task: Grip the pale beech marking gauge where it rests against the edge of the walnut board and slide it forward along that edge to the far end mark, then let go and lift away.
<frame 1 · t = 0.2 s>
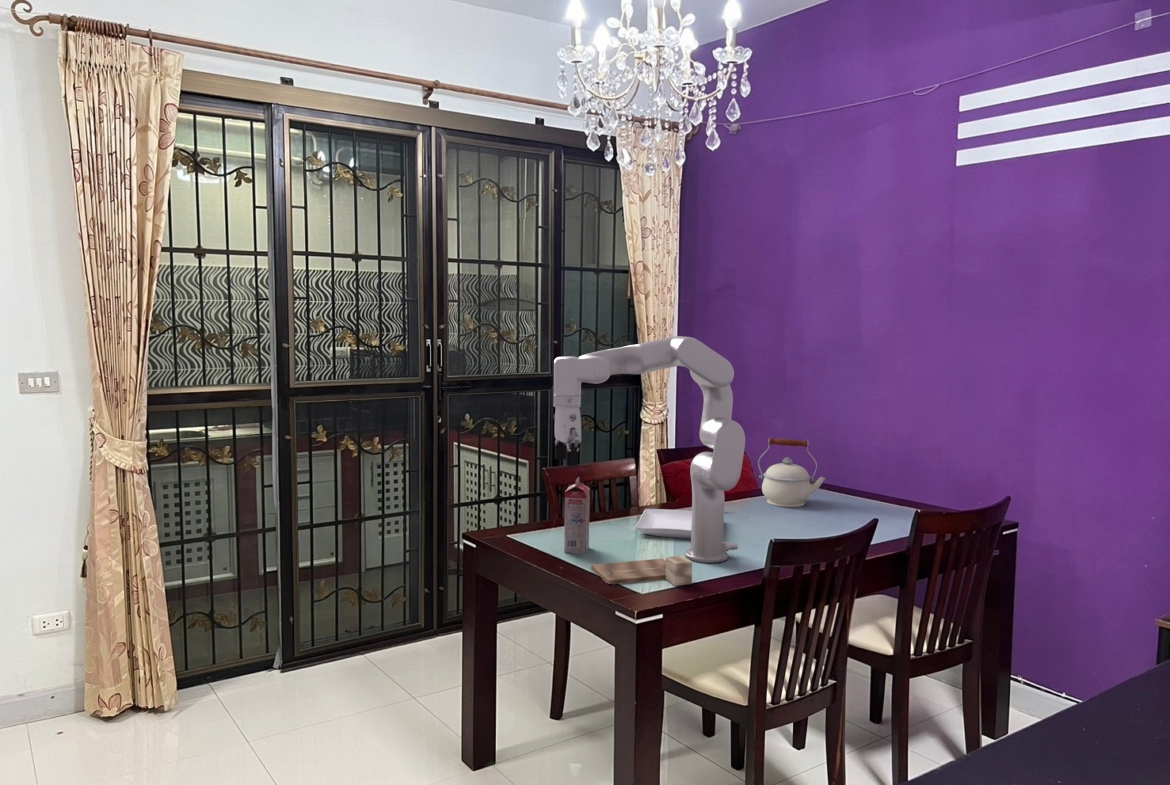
hand: (566, 462, 231), 31 cm above the table, tool pointing down, fingers open, 9 cm apart
gauge: (674, 567, 229), point 3 cm above the table, slide at 0.0 cm
kettle: (790, 504, 320), on the table
board: (636, 573, 234), on the table
square plate: (679, 530, 281), on the table
juice carton: (576, 550, 255), on the table
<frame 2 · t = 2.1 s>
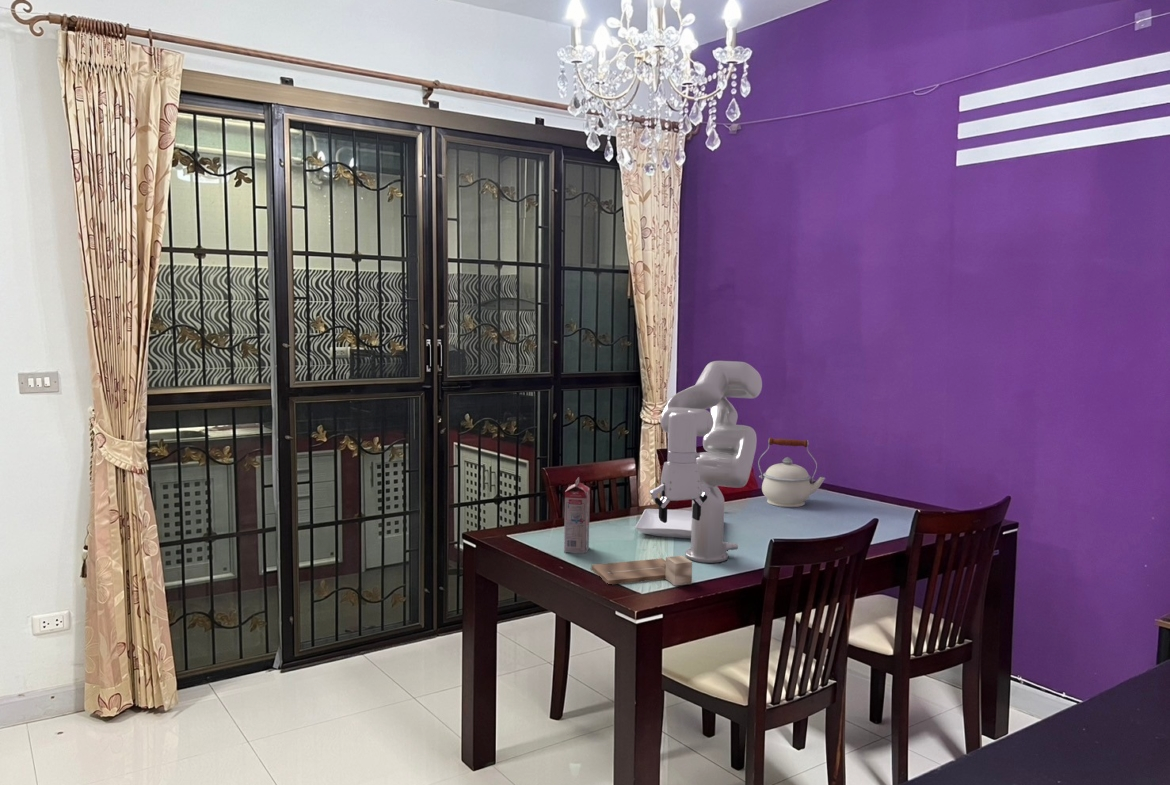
hand: (679, 520, 224), 17 cm above the table, tool pointing down, fingers open, 9 cm apart
nothing on the table moved.
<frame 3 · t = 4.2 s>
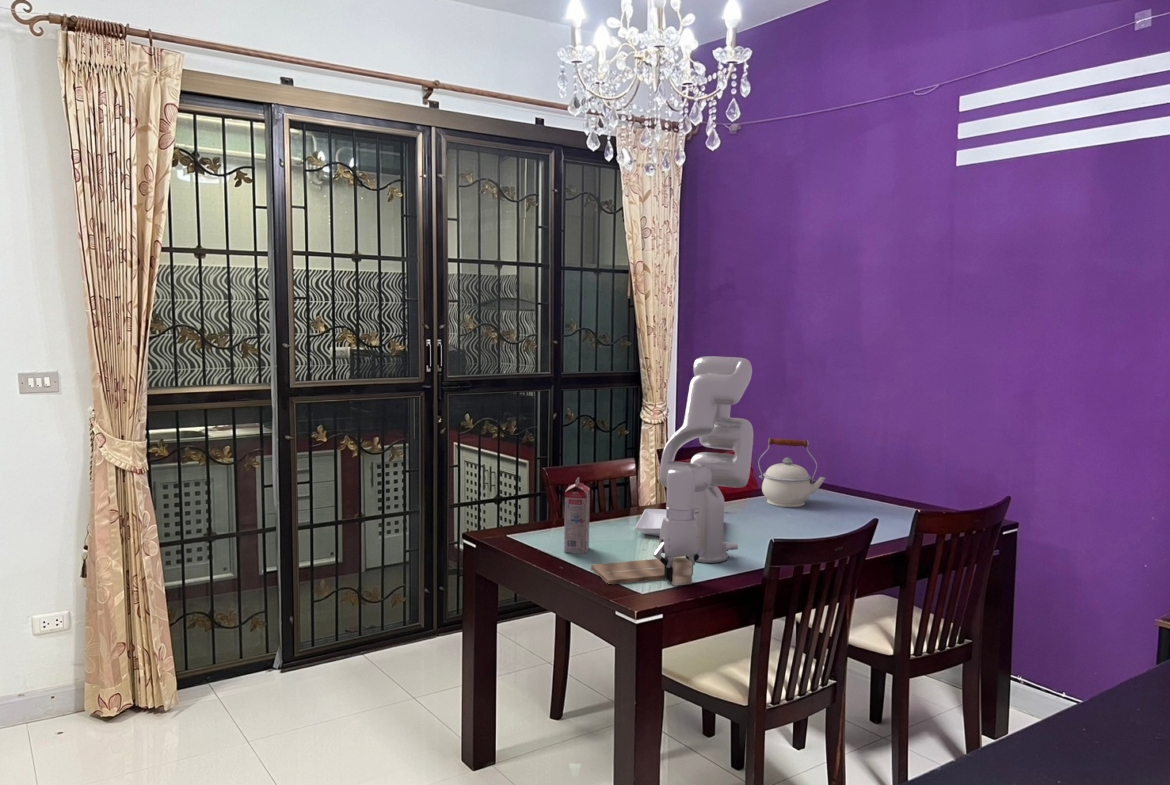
hand: (678, 578, 226), 1 cm above the table, tool pointing down, fingers closed on gauge, 5 cm apart
gauge: (673, 567, 229), point 3 cm above the table, slide at 0.0 cm, touching gripper
everything else where it was.
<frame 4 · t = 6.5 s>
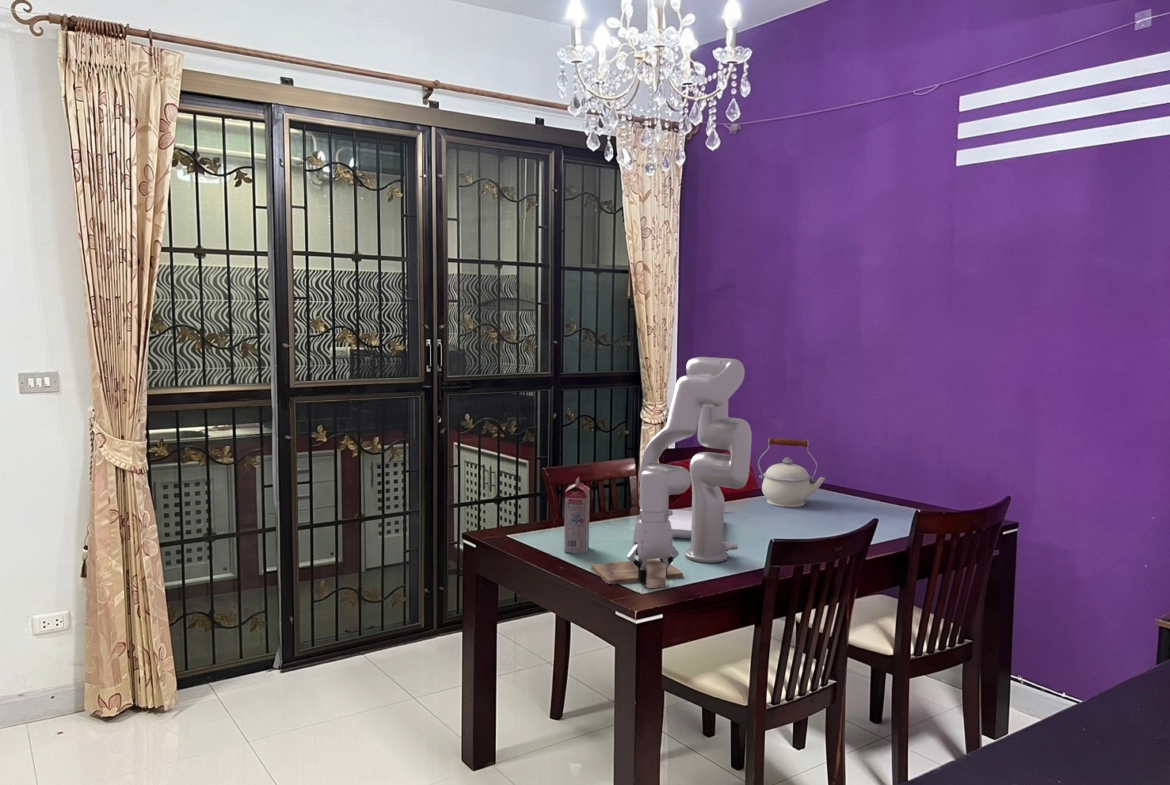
hand: (652, 581, 224), 1 cm above the table, tool pointing down, fingers closed on gauge, 5 cm apart
gauge: (648, 569, 226), point 3 cm above the table, slide at 7.7 cm, touching gripper
everything else where it was.
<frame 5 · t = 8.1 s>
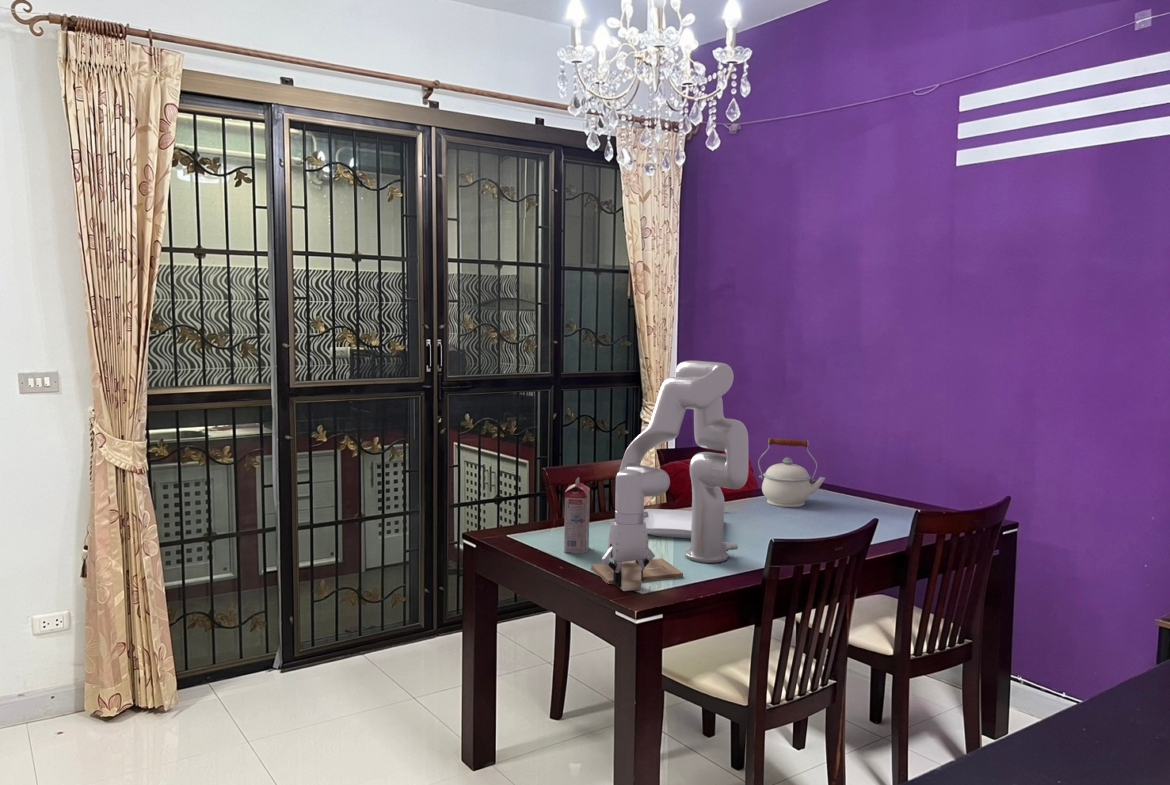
hand: (627, 584, 221), 1 cm above the table, tool pointing down, fingers closed on gauge, 5 cm apart
gauge: (623, 571, 224), point 3 cm above the table, slide at 14.8 cm, touching gripper
everything else where it was.
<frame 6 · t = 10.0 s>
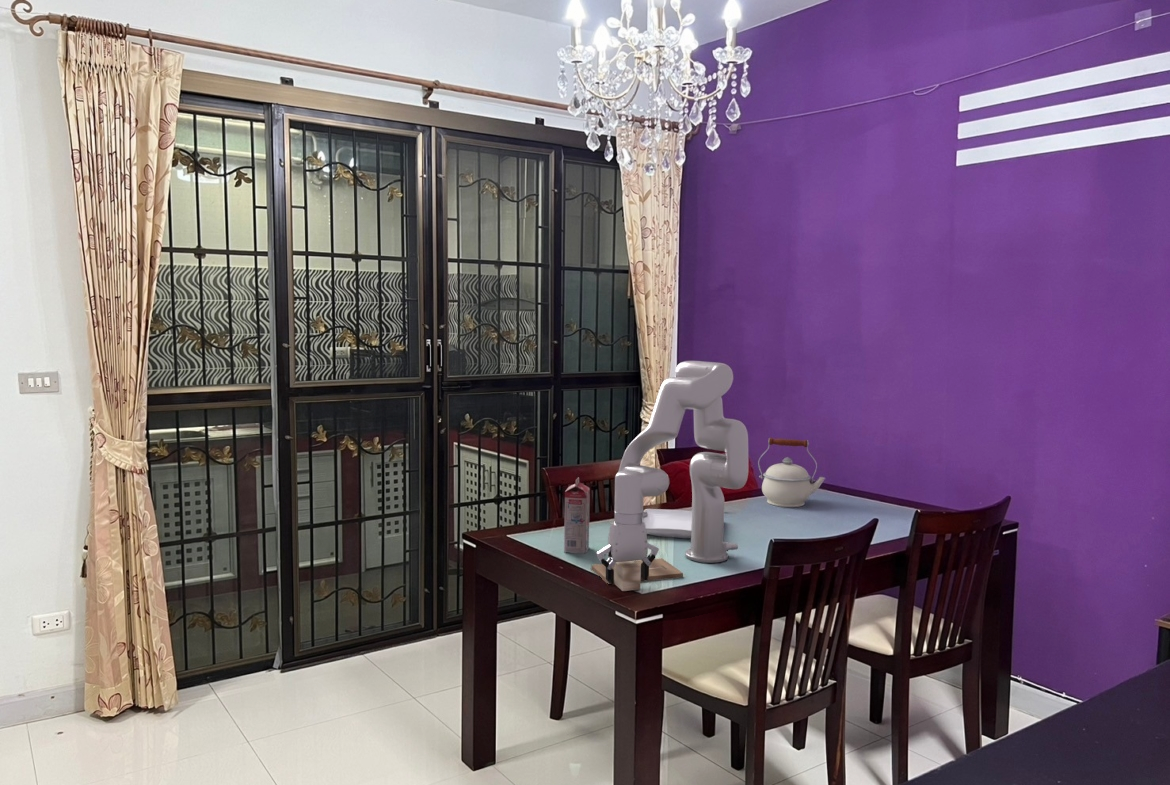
hand: (627, 580, 221), 2 cm above the table, tool pointing down, fingers open, 9 cm apart
gauge: (623, 572, 224), point 3 cm above the table, slide at 15.0 cm
everything else where it was.
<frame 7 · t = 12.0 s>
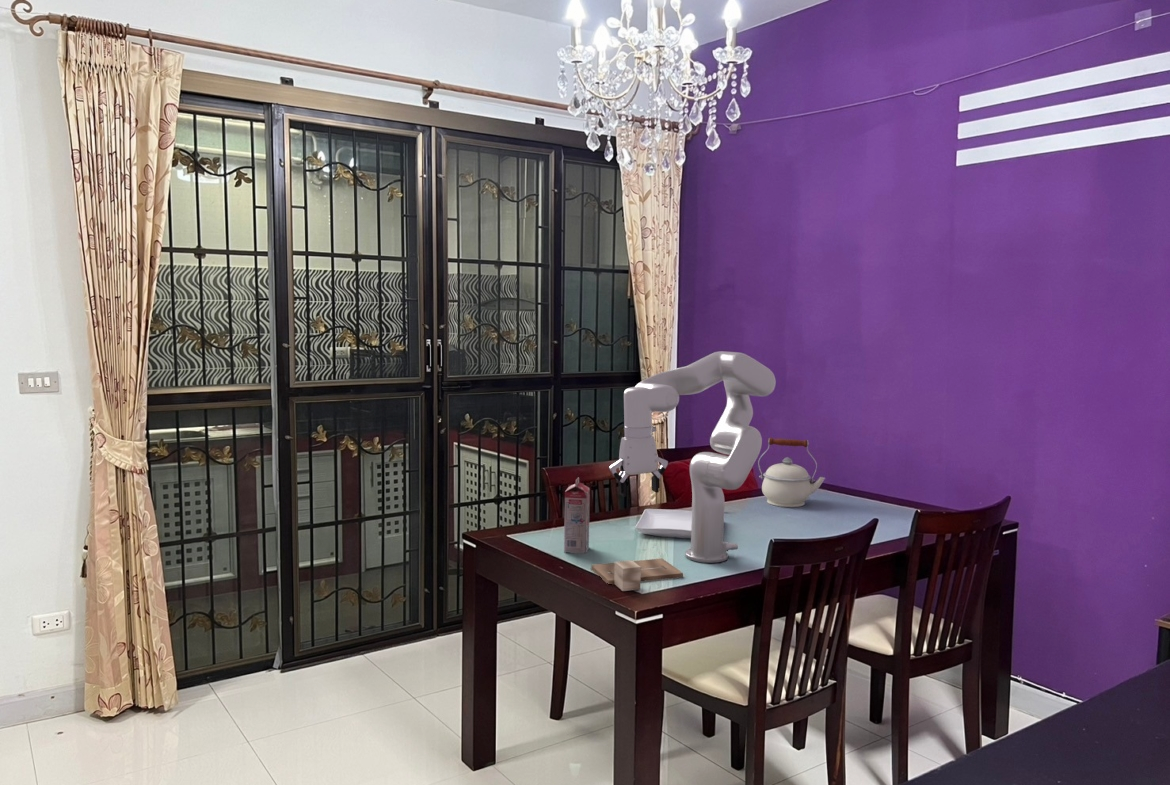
hand: (639, 493, 230), 23 cm above the table, tool pointing down, fingers open, 9 cm apart
nothing on the table moved.
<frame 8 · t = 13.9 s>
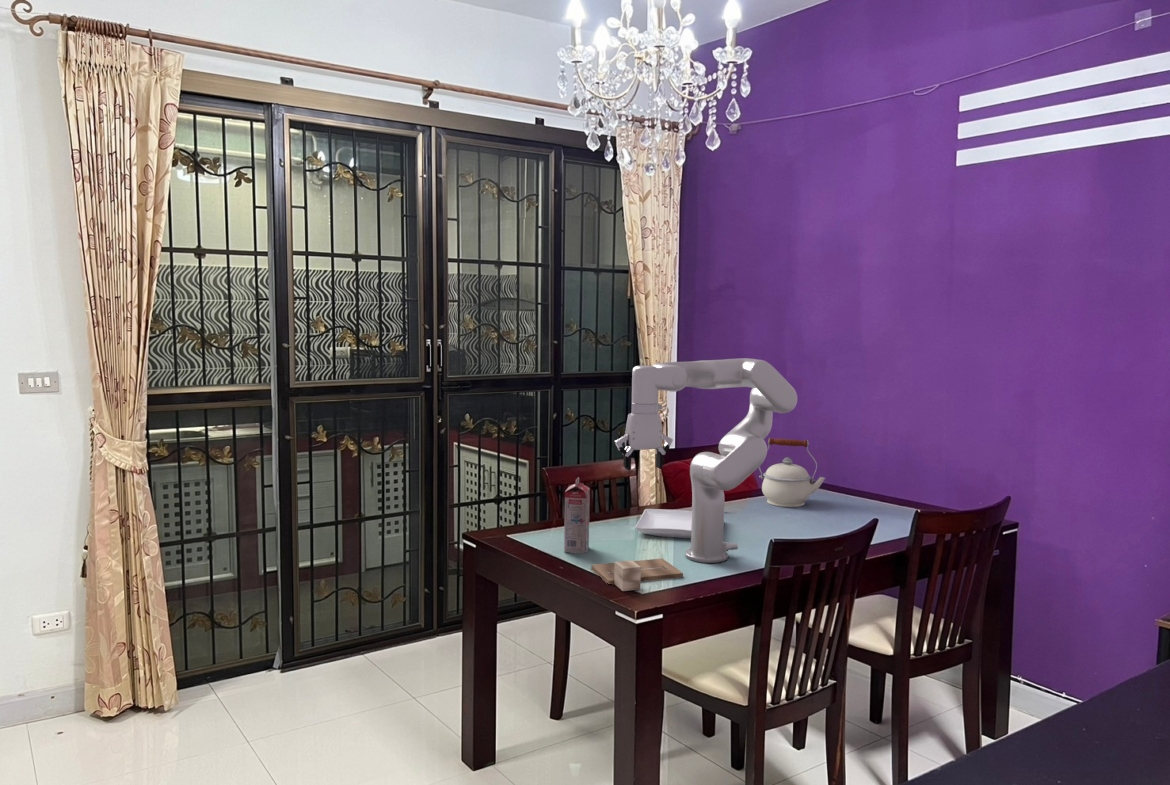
hand: (643, 468, 238), 28 cm above the table, tool pointing down, fingers open, 9 cm apart
nothing on the table moved.
at the end: gauge slide at 15.0 cm; the gripper is holding nothing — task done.
